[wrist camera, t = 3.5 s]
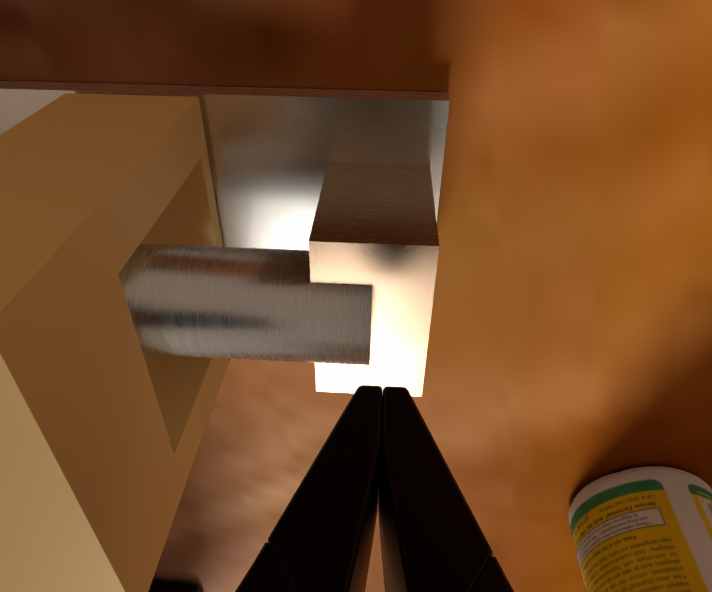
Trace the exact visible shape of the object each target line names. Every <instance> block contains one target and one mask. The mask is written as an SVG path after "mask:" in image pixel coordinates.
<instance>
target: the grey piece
mask: <svg viewBox="0 0 712 592" xmlns="http://www.w3.org/2000/svg"><path fill="white" fill-rule="evenodd" d="M65 93H73V94H110V95H147V96H184V97H199V103H200V109H201V115H202V121H203V127H204V133H205V140H206V146H207V152H208V158H209V164H210V170H211V176H212V182H213V189H214V195H215V201H216V207H217V213H218V219H219V225H220V231H221V238H222V244H223V247H213V246H187V245H162V244H140V245H139V246H138V247H137V249H136V250H135V252H134V253H133V254H132V256H131V257H130V259H129V260H128V261H127V263H126V264H125V266H124V267H123V269H122V270H121V271H120V273H119V274H118V275H119V278H120V282H121V285H122V288H123V291H124V295H125V298H126V301H127V304H128V307H129V311H130V314H131V317H132V320H133V324H134V327H135V330H136V333H137V336H138V340H139V343H140V346H141V349H142V353H143V354H144V355H165V356H186V357H207V358H228V359H249V360H270V361H291V362H312V363H315V376H316V391H318V392H338V393H355V391H356V389H357V388H358V387H359V386H360V385H374V386H380V387H382V390H383V388H384V387H386V386H394V387H405V388H407V390H408V391H409V393H410V395H411V396H418V397H422V390H423V381H424V373H425V364H426V356H427V347H428V339H429V330H430V321H431V313H432V304H433V296H434V287H435V279H436V270H437V261H438V253H439V240H438V231H437V213H438V204H439V195H440V186H441V177H442V168H443V158H444V149H445V140H446V131H447V122H448V113H449V104H450V99H449V95H448V92H417V91H379V90H341V89H302V88H264V87H226V86H187V85H149V84H110V83H72V82H34V81H0V135H1V134H2V133H4V132H5V131H7V130H9V129H10V128H12V127H13V126H15V125H16V124H18V123H19V122H21V121H23V120H24V119H26V118H27V117H29V116H30V115H32V114H34V113H35V112H37V111H38V110H40V109H41V108H43V107H45V106H46V105H48V104H49V103H51V102H52V101H54V100H56V99H57V98H59V97H60V96H62V95H63V94H65Z"/></svg>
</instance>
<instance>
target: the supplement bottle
mask: <svg viewBox="0 0 712 592" xmlns="http://www.w3.org/2000/svg"><path fill="white" fill-rule="evenodd" d="M568 517H569V523H570V528H571V531H572V536H573V540H574V544H575V548H576V552H577V556H578V560H579V564H580V568H581V572H582V575H583V579H584V583H585V587H586V591H587V592H712V489H711V487H710V486H709V485H708V484H707V483H706V482H704V481H703V480H702V479H700V478H699V477H697V476H695V475H694V474H691V473H689V472H686V471H683V470H680V469H675V468H670V467H661V466H649V467H637V468H631V469H627V470H623V471H620V472H616V473H612V474H609V475H606V476H603V477H601V478H599V479H597V480H595V481H593V482H591V483H590V484H588V485H587V486H585V487H584V488H583V489H582V490H581V491H580V492H579V493H578V494H577V495H576V497H575V498H574V500H573V502H572V504H571V506H570V509H569V514H568Z"/></svg>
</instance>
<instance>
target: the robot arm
mask: <svg viewBox="0 0 712 592" xmlns="http://www.w3.org/2000/svg"><path fill="white" fill-rule="evenodd" d="M378 490H379V495H378ZM377 506H378V512H379V528H380V539H381V551H382V562H383V574H384V585H385V592H514V591H513V589H512V587H511V585H510V583H509V582H508V580H507V578H506V576H505V574H504V572H503V570H502V568H501V566H500V565H499V563H498V561H497V559H496V557H494V556H492V555H493V552H492V550H491V548H490V546H489V544H488V542H487V540H486V538H485V536H484V534H483V532H482V531H481V529H480V527H479V525H478V523H477V521H476V519H475V517H474V515H473V513H472V511H471V510H470V508H469V506H468V504H467V502H466V500H465V498H464V496H463V494H462V492H461V490H460V488H459V487H458V485H457V483H456V481H455V479H454V477H453V475H452V473H451V471H450V469H449V467H448V465H447V464H446V462H445V460H444V458H443V456H442V454H441V452H440V450H439V448H438V446H437V444H436V443H435V441H434V439H433V437H432V435H431V433H430V431H429V429H428V427H427V425H426V423H425V421H424V420H423V418H422V416H421V414H420V412H419V410H418V408H417V406H416V404H415V402H414V400H413V398H412V397H411V395H410V393H409V391H408V390H407V388H405V387H394V386H386V387H384V388H383V390H382V387H380V386H374V385H360V386H359V387H358V388H357V389H356V391H355V393H354V395H353V396H352V398H351V400H350V401H349V403H348V405H347V406H346V408H345V410H344V411H343V413H342V415H341V416H340V418H339V420H338V422H337V423H336V425H335V427H334V428H333V430H332V432H331V433H330V435H329V437H328V438H327V440H326V442H325V443H324V445H323V447H322V449H321V450H320V452H319V454H318V455H317V457H316V459H315V460H314V462H313V464H312V465H311V467H310V469H309V470H308V472H307V474H306V476H305V477H304V479H303V481H302V482H301V484H300V486H299V487H298V489H297V491H296V492H295V494H294V496H293V497H292V499H291V501H290V502H289V504H288V506H287V508H286V509H285V511H284V513H283V514H282V516H281V518H280V519H279V521H278V523H277V524H276V526H275V528H274V529H273V531H272V533H271V535H270V536H269V538H268V542H267V543H265V544H264V546H263V548H262V549H261V551H260V553H259V554H258V556H257V558H256V559H255V561H254V563H253V564H252V566H251V568H250V569H249V571H248V572H247V574H246V575H245V577H244V579H243V580H242V582H241V583H240V585H239V586H238V588H237V590H236V591H235V592H365V587H366V581H367V574H368V568H369V562H370V555H371V549H372V543H373V537H374V530H375V524H376V516H377ZM148 592H201V590H200V589H199V588H198V587H197V586H194V585H189V584H174V583H159V582H152V583H151V586H150V589H149V591H148Z"/></svg>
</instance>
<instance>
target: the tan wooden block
mask: <svg viewBox="0 0 712 592" xmlns="http://www.w3.org/2000/svg"><path fill="white" fill-rule="evenodd" d="M140 244H162V245H187V246H213V247H223V244H222V238H221V231H220V225H219V219H218V213H217V207H216V201H215V195H214V189H213V182H212V176H211V170H210V164H209V158H208V152H207V146H206V140H205V133H204V127H203V121H202V115H201V109H200V103H199V97H184V96H147V95H110V94H73V93H65V94H63V95H62V96H60V97H59V98H57V99H56V100H54V101H52V102H51V103H49V104H48V105H46V106H45V107H43V108H41V109H40V110H38V111H37V112H35V113H34V114H32V115H30V116H29V117H27V118H26V119H24V120H23V121H21V122H19V123H18V124H16V125H15V126H13V127H12V128H10V129H9V130H7V131H5V132H4V133H2V134H1V135H0V592H148V591H149V589H150V586H151V583H152V580H153V577H154V574H155V571H156V569H157V566H158V563H159V560H160V557H161V554H162V551H163V549H164V546H165V543H166V540H167V537H168V534H169V531H170V529H171V526H172V523H173V520H174V517H175V514H176V511H177V509H178V506H179V503H180V500H181V497H182V494H183V491H184V489H185V486H186V483H187V480H188V477H189V474H190V471H191V469H192V466H193V463H194V460H195V457H196V454H197V452H198V449H199V446H200V443H201V440H202V437H203V434H204V432H205V429H206V426H207V423H208V420H209V417H210V414H211V412H212V409H213V406H214V403H215V400H216V397H217V394H218V392H219V389H220V386H221V383H222V380H223V377H224V374H225V372H226V369H227V366H228V363H229V360H230V359H228V358H207V357H186V356H165V355H144V354H143V353H142V349H141V346H140V343H139V340H138V336H137V333H136V330H135V327H134V324H133V320H132V317H131V314H130V311H129V307H128V304H127V301H126V298H125V295H124V291H123V288H122V285H121V282H120V278H119V275H118V274H119V273H120V271H121V270H122V269H123V267H124V266H125V264H126V263H127V261H128V260H129V259H130V257H131V256H132V254H133V253H134V252H135V250H136V249H137V247H138V246H139V245H140Z"/></svg>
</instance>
